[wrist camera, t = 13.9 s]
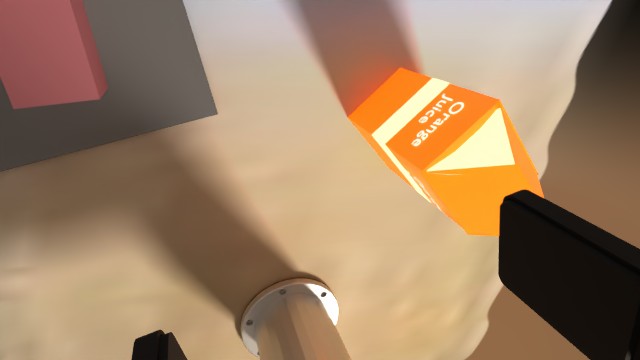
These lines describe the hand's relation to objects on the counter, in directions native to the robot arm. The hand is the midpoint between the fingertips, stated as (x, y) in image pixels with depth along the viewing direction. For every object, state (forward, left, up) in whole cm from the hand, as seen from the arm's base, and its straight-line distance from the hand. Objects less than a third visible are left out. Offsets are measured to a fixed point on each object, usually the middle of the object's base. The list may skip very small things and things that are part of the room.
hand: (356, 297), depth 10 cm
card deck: (+7, +12, -29) cm, 32 cm away
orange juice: (-8, -16, -30) cm, 35 cm away
